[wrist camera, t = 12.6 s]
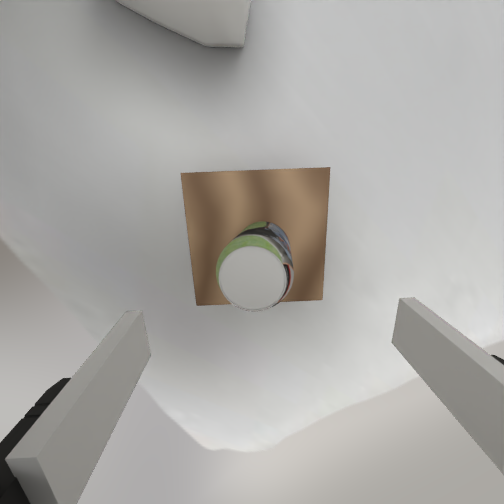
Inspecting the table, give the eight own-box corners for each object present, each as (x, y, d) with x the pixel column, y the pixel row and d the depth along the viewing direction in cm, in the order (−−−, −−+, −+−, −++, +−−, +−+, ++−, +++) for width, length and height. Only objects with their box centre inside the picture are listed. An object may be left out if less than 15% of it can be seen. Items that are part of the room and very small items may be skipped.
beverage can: (276, 275, 30) (294, 338, 19) (219, 256, 29) (200, 310, 18) (296, 227, 28) (329, 264, 17) (235, 206, 27) (227, 230, 16)
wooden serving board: (201, 291, 35) (196, 305, 31) (188, 172, 30) (180, 172, 26) (313, 286, 35) (322, 299, 31) (319, 167, 30) (330, 167, 26)
